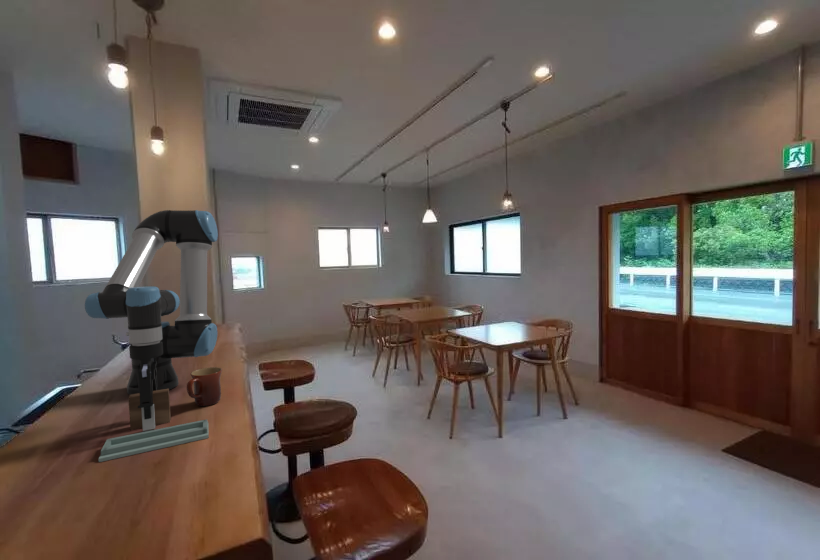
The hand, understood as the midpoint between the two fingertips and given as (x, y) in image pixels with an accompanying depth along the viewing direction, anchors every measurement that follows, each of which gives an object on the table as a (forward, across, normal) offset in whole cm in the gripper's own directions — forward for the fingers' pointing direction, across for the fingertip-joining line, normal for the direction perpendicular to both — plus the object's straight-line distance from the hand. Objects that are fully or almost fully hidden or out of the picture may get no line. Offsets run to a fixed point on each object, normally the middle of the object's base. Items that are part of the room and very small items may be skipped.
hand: (151, 423), depth 103 cm
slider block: (0, 0, 0) cm, 0 cm away
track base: (0, +13, +3) cm, 13 cm away
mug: (0, -8, +13) cm, 15 cm away
